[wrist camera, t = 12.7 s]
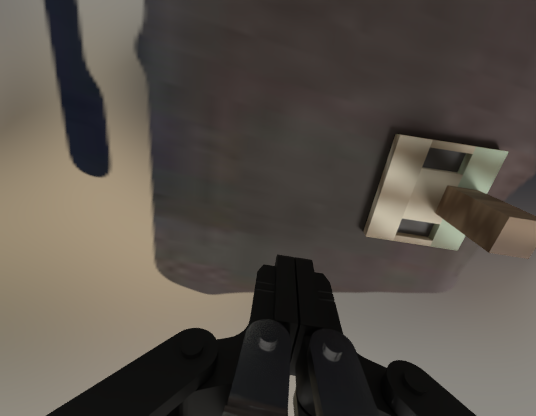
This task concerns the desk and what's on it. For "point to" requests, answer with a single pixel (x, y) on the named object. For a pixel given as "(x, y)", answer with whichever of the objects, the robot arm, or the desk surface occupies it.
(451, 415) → the robot arm
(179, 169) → the desk surface
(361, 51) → the desk surface
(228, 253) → the desk surface
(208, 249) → the desk surface
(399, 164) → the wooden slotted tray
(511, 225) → the walnut block
